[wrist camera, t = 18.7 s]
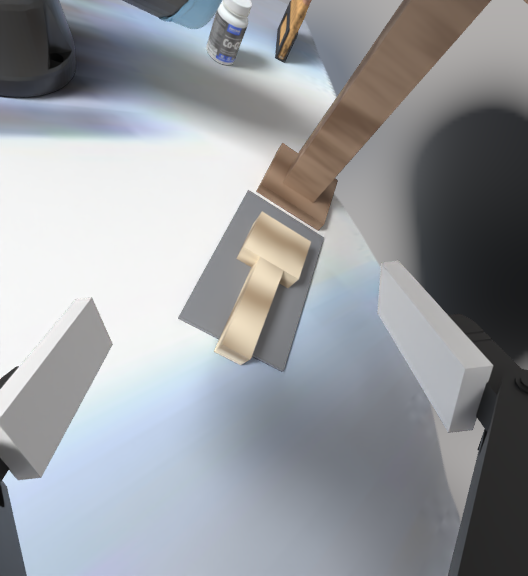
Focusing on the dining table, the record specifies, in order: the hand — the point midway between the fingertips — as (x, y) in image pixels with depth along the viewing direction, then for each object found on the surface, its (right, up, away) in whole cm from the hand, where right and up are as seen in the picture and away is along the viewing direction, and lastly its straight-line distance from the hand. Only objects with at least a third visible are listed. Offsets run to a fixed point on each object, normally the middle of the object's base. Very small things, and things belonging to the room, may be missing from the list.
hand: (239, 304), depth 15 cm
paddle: (0, +1, +22) cm, 22 cm away
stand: (+6, +15, +33) cm, 36 cm away
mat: (+1, +3, +24) cm, 24 cm away
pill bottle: (-6, +38, +38) cm, 54 cm away
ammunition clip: (+4, +47, +48) cm, 67 cm away
